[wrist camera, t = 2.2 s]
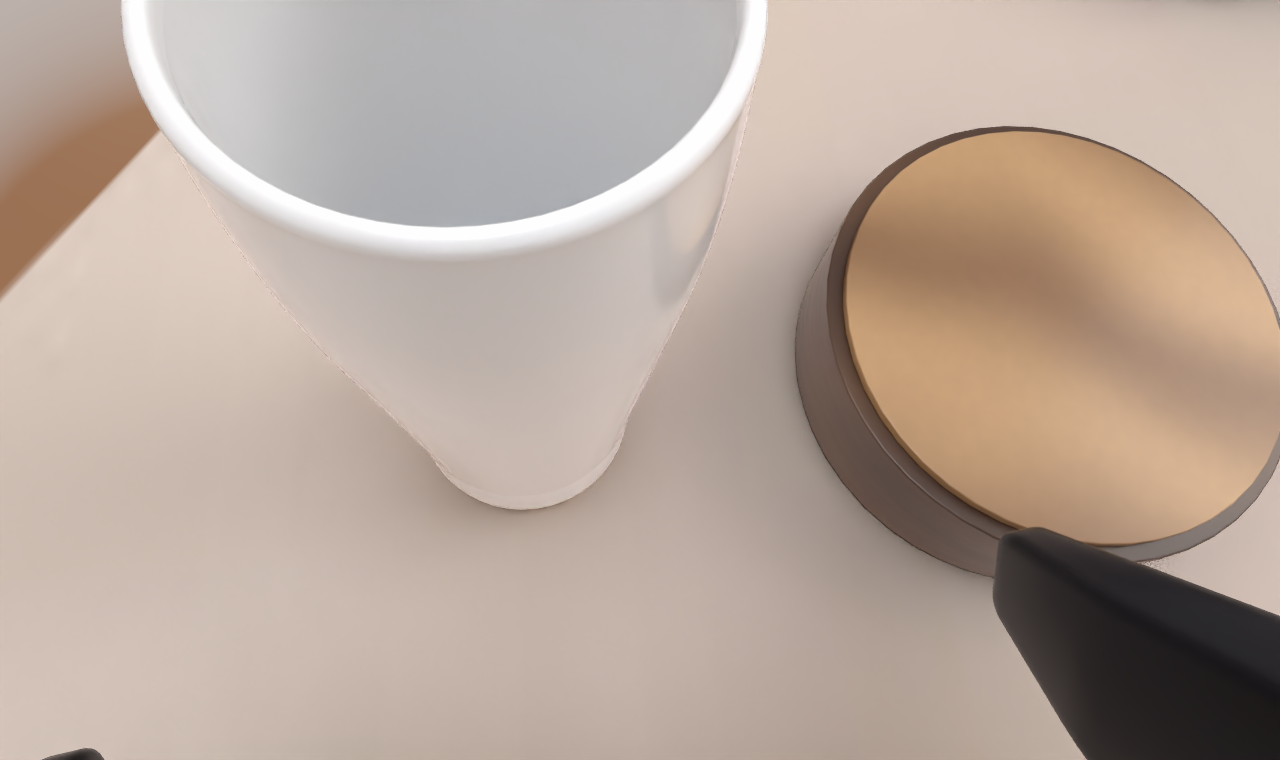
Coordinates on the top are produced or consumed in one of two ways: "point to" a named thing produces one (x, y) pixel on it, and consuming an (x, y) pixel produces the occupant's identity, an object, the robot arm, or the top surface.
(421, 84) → the white tumbler
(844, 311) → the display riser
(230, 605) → the top surface
